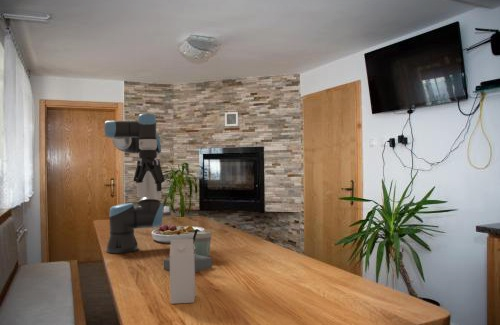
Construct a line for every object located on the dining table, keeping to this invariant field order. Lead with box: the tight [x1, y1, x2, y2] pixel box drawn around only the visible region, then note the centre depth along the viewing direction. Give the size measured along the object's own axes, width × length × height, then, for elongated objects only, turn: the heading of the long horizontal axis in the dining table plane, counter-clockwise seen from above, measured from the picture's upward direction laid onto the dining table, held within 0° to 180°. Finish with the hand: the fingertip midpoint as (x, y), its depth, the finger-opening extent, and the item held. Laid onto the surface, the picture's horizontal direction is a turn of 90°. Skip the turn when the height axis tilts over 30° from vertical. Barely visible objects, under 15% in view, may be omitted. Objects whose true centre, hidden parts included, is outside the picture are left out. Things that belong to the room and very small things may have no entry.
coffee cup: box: [193, 230, 212, 257], centre depth 174 cm, size 8×9×12 cm
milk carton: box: [169, 239, 196, 305], centre depth 122 cm, size 7×7×19 cm
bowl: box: [151, 223, 206, 244], centre depth 223 cm, size 30×30×8 cm
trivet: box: [162, 254, 213, 273], centre depth 159 cm, size 14×14×4 cm
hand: (149, 198), depth 168 cm, fingers open, 13 cm apart
